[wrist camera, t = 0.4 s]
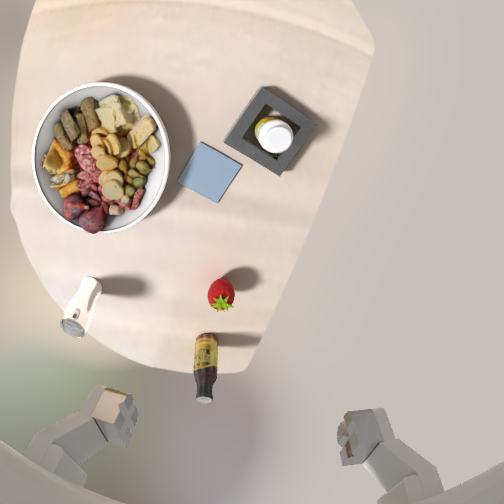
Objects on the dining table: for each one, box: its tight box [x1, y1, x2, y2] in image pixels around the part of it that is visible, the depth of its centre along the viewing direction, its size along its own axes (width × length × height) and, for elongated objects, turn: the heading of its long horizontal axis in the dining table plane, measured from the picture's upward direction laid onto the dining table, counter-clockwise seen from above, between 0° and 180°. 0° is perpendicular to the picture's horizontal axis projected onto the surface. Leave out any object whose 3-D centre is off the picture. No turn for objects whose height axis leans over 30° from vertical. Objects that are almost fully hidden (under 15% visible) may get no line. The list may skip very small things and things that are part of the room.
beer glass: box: [60, 277, 102, 338], centre depth 57 cm, size 7×7×15 cm
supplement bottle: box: [255, 116, 293, 153], centre depth 44 cm, size 6×6×10 cm
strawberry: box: [208, 279, 235, 312], centre depth 62 cm, size 6×8×10 cm
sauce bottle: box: [193, 334, 218, 403], centre depth 69 cm, size 7×6×20 cm
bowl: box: [32, 82, 171, 234], centre depth 44 cm, size 30×30×8 cm
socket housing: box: [224, 87, 317, 176], centre depth 47 cm, size 12×12×3 cm
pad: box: [177, 142, 242, 203], centre depth 52 cm, size 9×9×1 cm
